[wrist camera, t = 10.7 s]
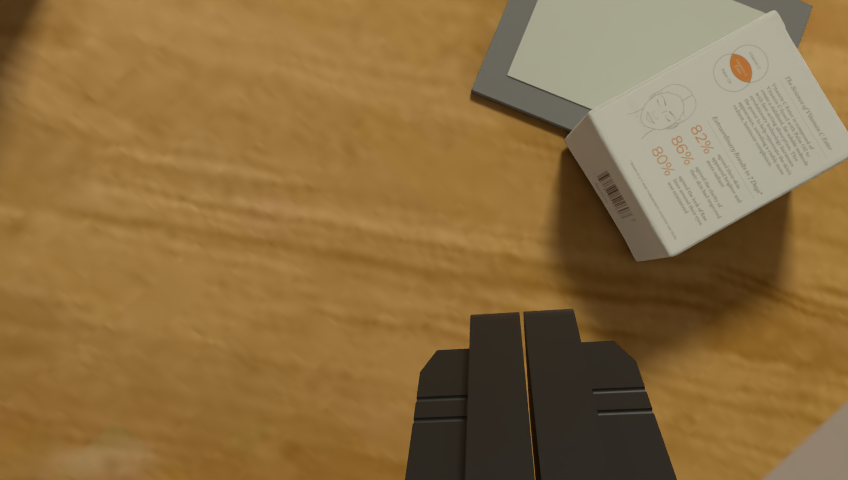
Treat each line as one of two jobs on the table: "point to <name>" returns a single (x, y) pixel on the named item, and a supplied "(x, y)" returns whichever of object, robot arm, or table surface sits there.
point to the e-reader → (605, 48)
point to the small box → (709, 140)
